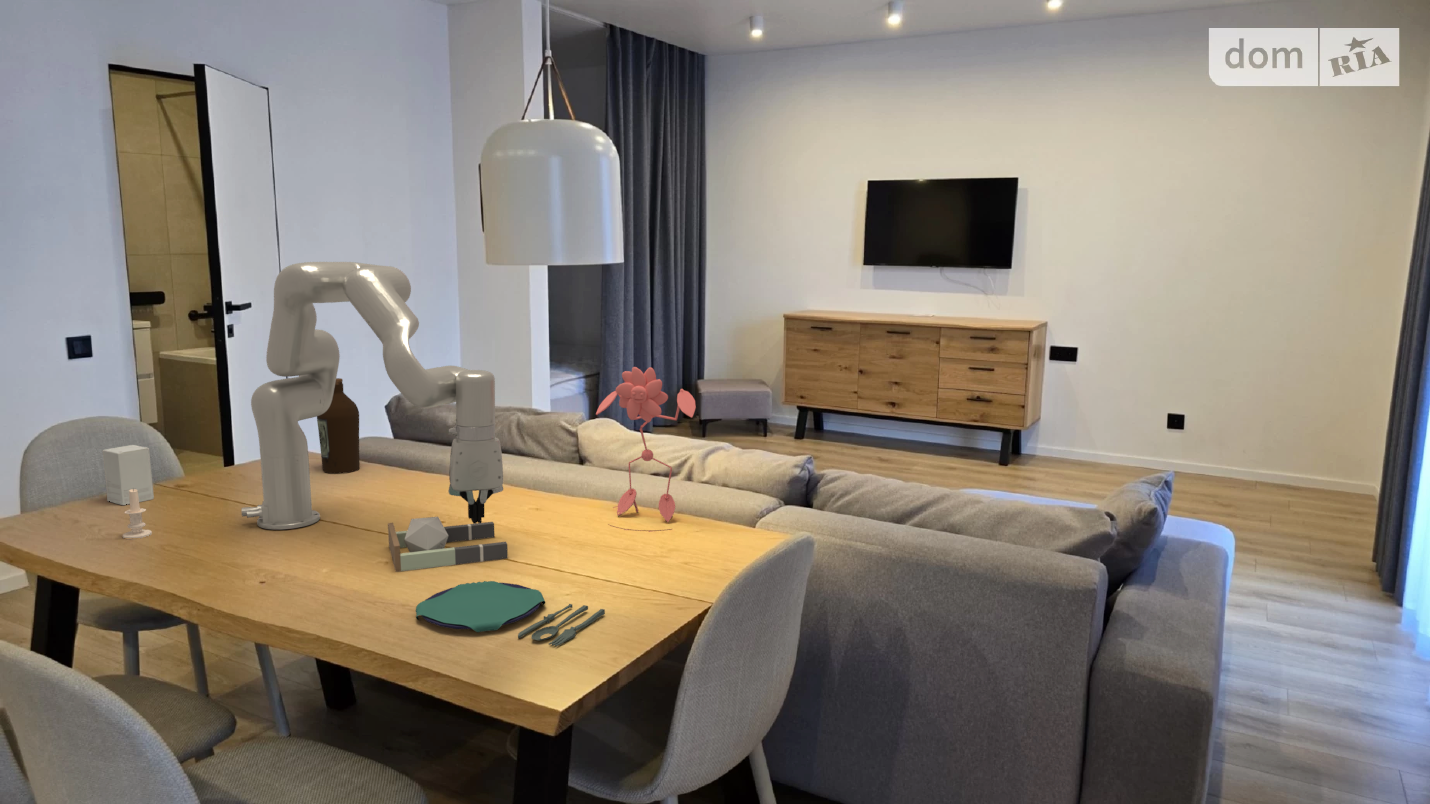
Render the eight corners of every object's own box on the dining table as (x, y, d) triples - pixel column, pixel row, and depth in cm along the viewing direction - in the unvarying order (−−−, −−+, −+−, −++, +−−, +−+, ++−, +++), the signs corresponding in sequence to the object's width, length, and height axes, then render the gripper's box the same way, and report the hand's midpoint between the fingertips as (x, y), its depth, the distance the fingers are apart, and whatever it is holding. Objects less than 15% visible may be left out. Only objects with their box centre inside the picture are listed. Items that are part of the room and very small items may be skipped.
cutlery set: (474, 585, 169) (474, 573, 169) (614, 614, 157) (614, 601, 156) (393, 624, 152) (392, 610, 151) (543, 661, 139) (543, 646, 139)
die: (434, 569, 178) (459, 524, 181) (393, 549, 176) (418, 504, 179) (433, 571, 186) (456, 527, 189) (393, 552, 184) (417, 508, 187)
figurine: (608, 506, 220) (607, 360, 215) (705, 520, 209) (707, 367, 204) (571, 523, 207) (569, 367, 201) (674, 539, 196) (674, 375, 190)
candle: (155, 535, 195) (151, 487, 193) (127, 541, 191) (122, 492, 189) (147, 530, 198) (143, 483, 197) (119, 535, 195) (114, 487, 193)
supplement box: (155, 499, 223) (150, 447, 221) (122, 506, 216) (116, 453, 214) (139, 494, 226) (134, 443, 224) (106, 501, 220) (101, 449, 218)
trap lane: (395, 571, 175) (394, 546, 174) (388, 546, 189) (387, 523, 188) (507, 558, 183) (507, 533, 182) (493, 535, 197) (492, 512, 197)
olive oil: (356, 463, 261) (351, 375, 257) (366, 471, 252) (361, 379, 248) (316, 468, 255) (310, 378, 251) (325, 476, 246) (319, 382, 242)
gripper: (439, 438, 178) (440, 530, 182) (517, 434, 184) (517, 523, 187) (434, 430, 185) (435, 519, 188) (509, 427, 191) (509, 513, 194)
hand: (476, 521), depth 188 cm, fingers closed
